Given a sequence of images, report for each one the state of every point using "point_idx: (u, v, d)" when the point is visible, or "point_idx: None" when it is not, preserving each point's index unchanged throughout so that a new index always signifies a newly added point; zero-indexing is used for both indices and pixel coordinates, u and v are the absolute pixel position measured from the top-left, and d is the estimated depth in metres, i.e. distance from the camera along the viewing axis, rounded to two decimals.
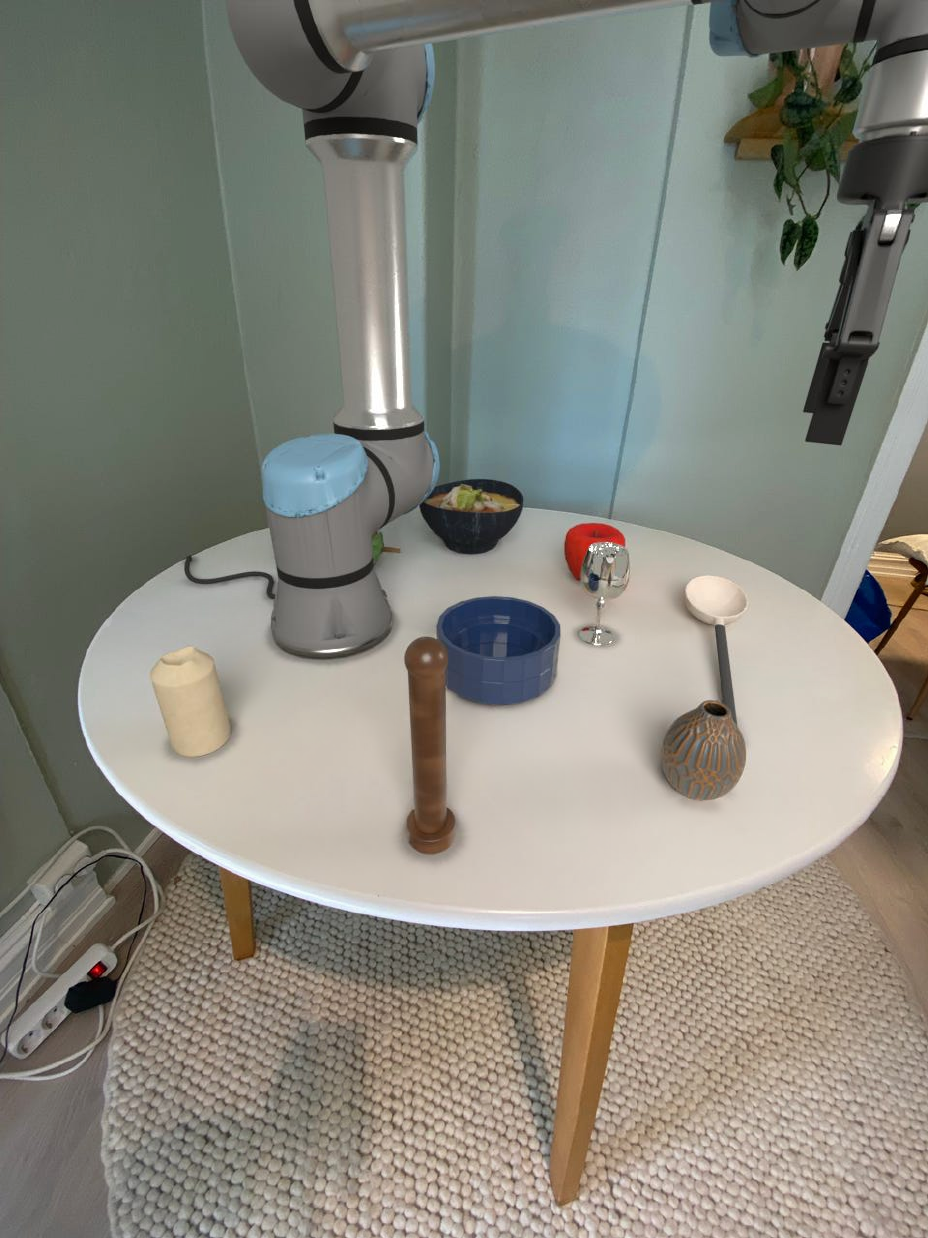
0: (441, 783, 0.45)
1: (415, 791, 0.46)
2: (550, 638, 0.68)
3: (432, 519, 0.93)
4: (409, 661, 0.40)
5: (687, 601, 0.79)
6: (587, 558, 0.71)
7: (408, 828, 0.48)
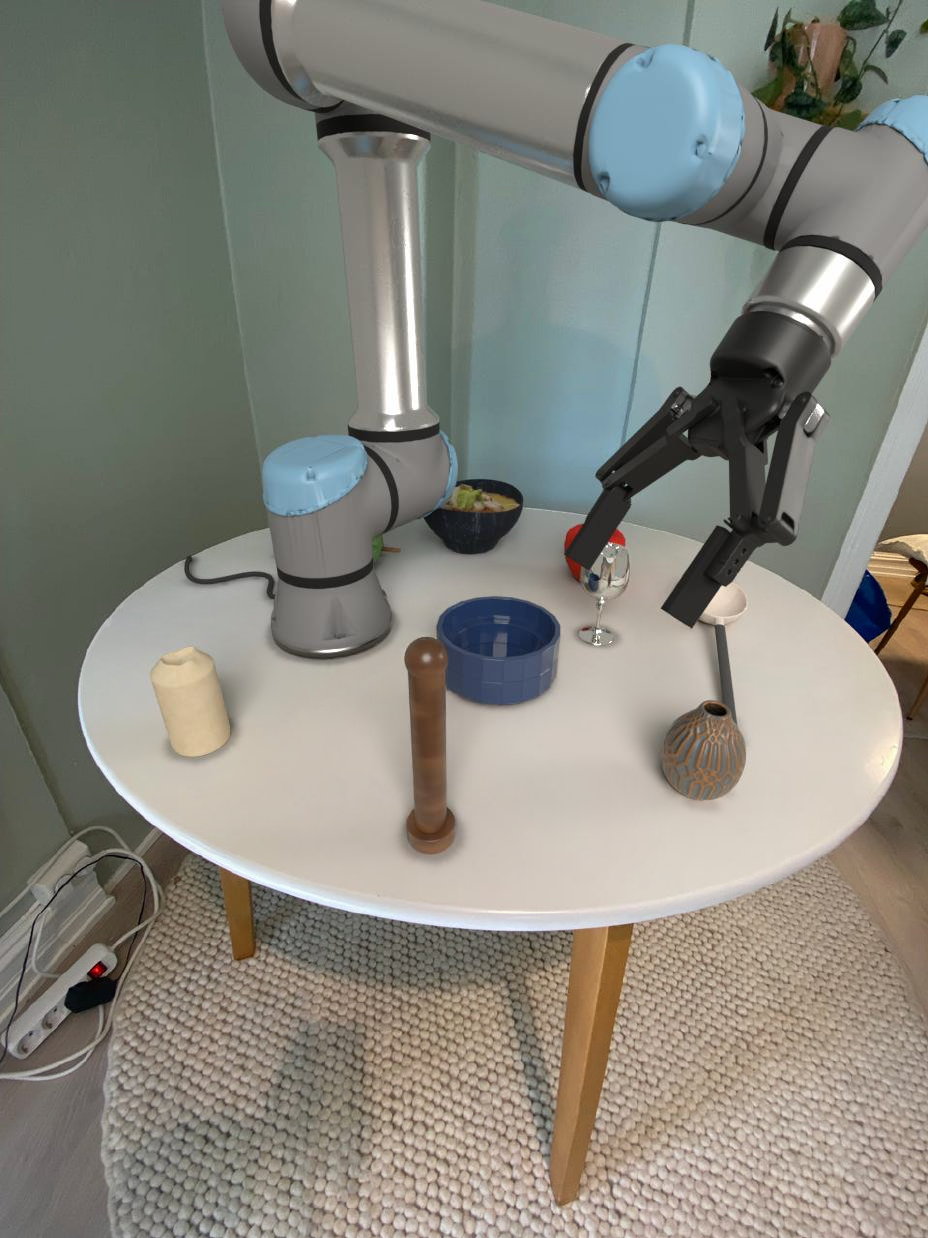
0: (441, 783, 0.45)
1: (415, 791, 0.46)
2: (550, 638, 0.68)
3: (432, 519, 0.93)
4: (409, 661, 0.40)
5: None
6: None
7: (408, 828, 0.48)
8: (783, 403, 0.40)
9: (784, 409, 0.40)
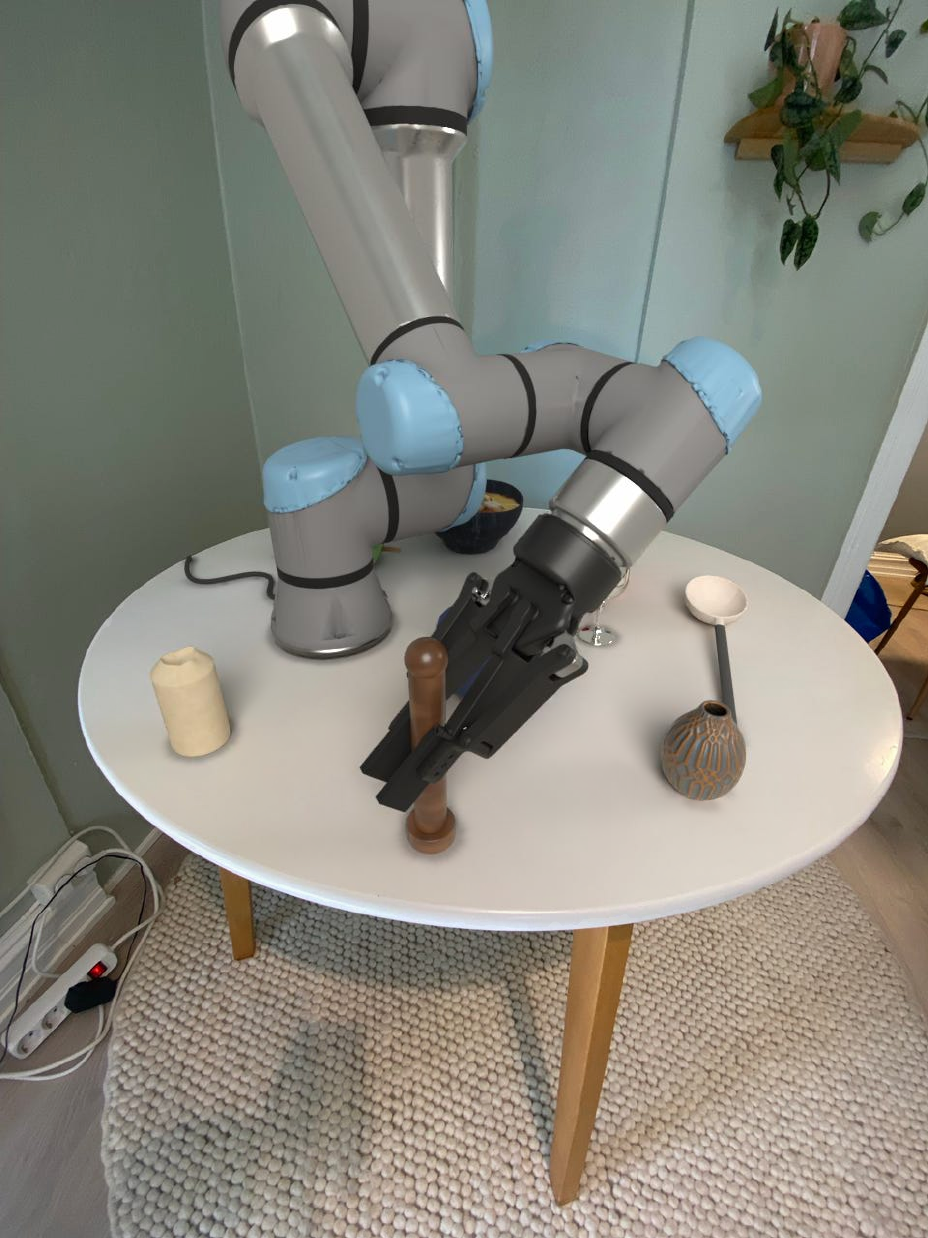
0: (441, 783, 0.45)
1: None
2: None
3: None
4: (409, 661, 0.40)
5: (687, 601, 0.79)
6: None
7: (408, 828, 0.48)
8: (564, 631, 0.40)
9: (559, 638, 0.40)
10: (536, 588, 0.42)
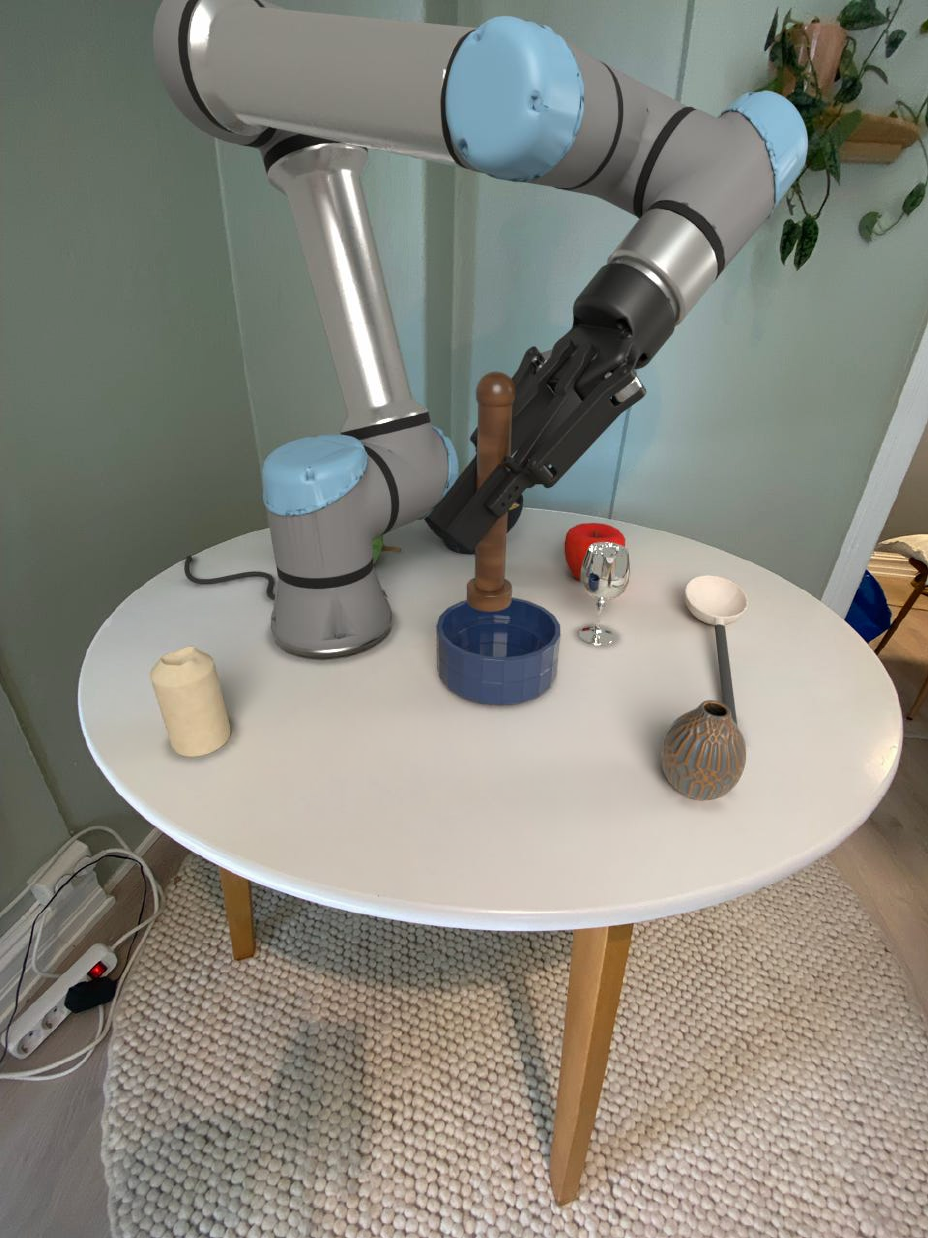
0: (502, 534, 0.49)
1: (478, 544, 0.50)
2: (550, 638, 0.68)
3: None
4: (482, 389, 0.43)
5: (687, 601, 0.79)
6: (587, 558, 0.71)
7: (468, 589, 0.52)
8: (623, 362, 0.43)
9: None
10: (595, 337, 0.46)
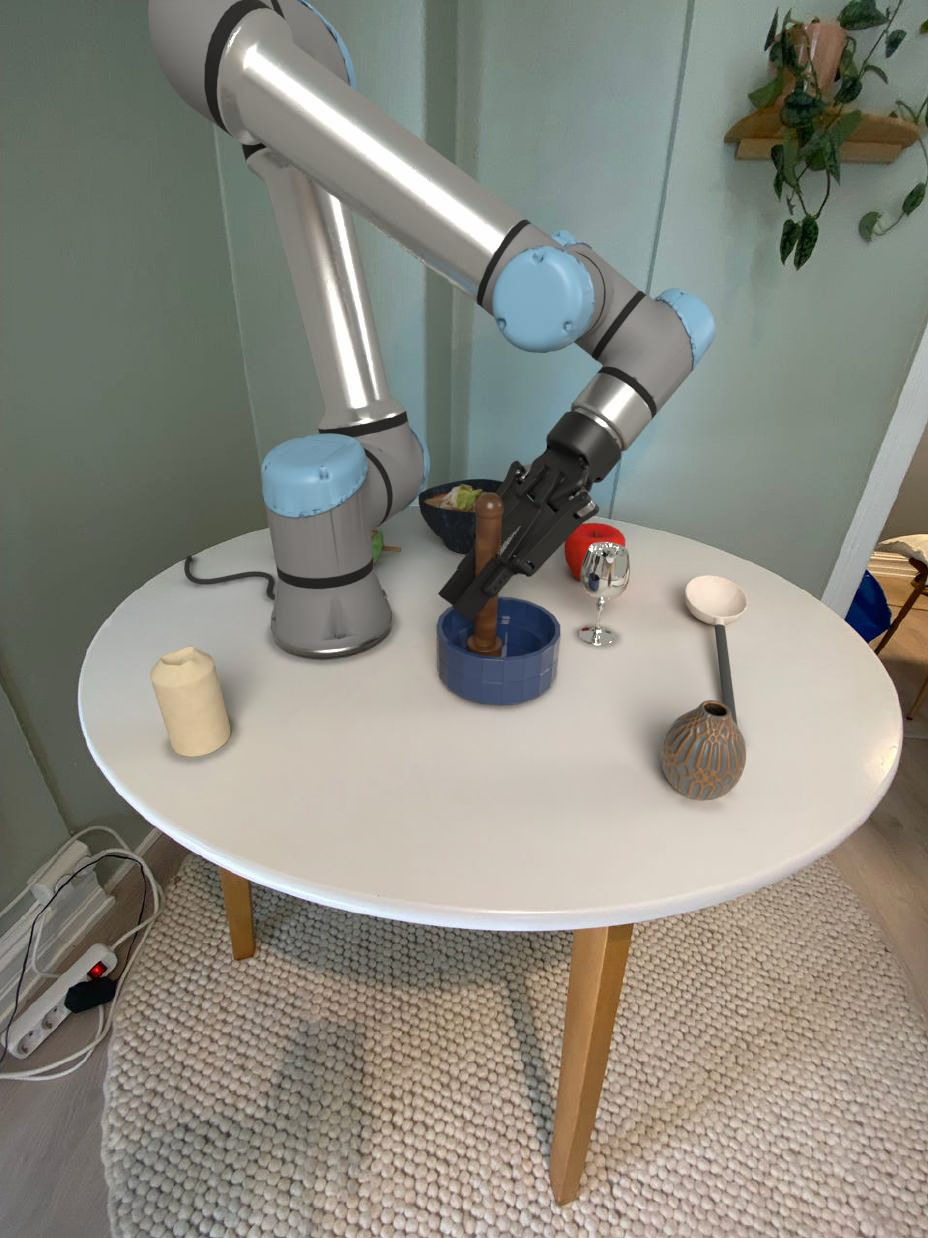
0: (495, 606, 0.65)
1: None
2: (550, 638, 0.68)
3: (432, 519, 0.93)
4: (479, 506, 0.59)
5: (687, 601, 0.79)
6: (587, 558, 0.71)
7: (469, 645, 0.68)
8: (582, 486, 0.59)
9: (579, 491, 0.59)
10: (562, 463, 0.62)
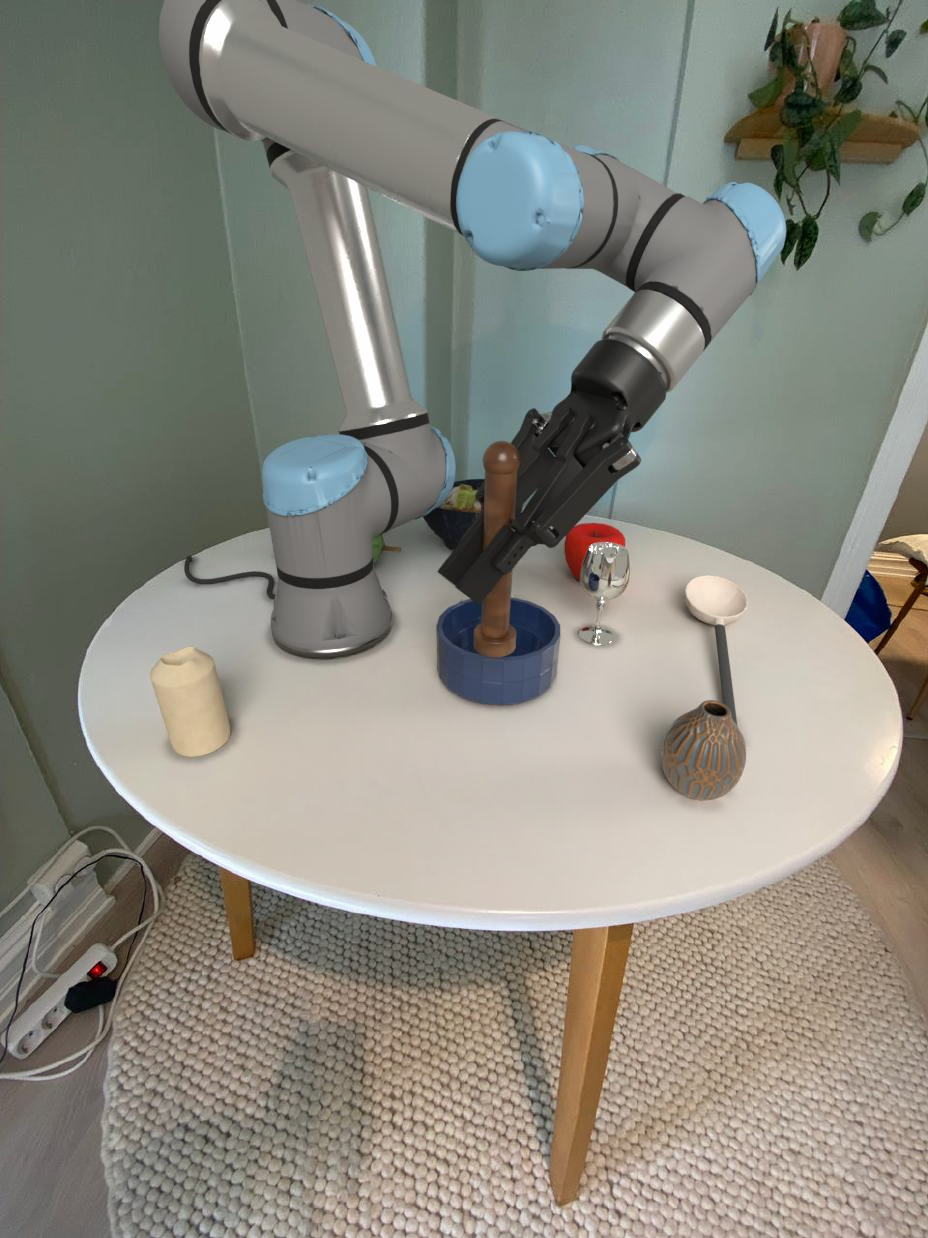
0: (508, 586, 0.52)
1: None
2: (550, 638, 0.68)
3: (432, 519, 0.93)
4: (489, 458, 0.47)
5: (687, 601, 0.79)
6: (587, 558, 0.71)
7: (476, 635, 0.55)
8: (619, 432, 0.47)
9: (616, 438, 0.47)
10: (592, 405, 0.49)
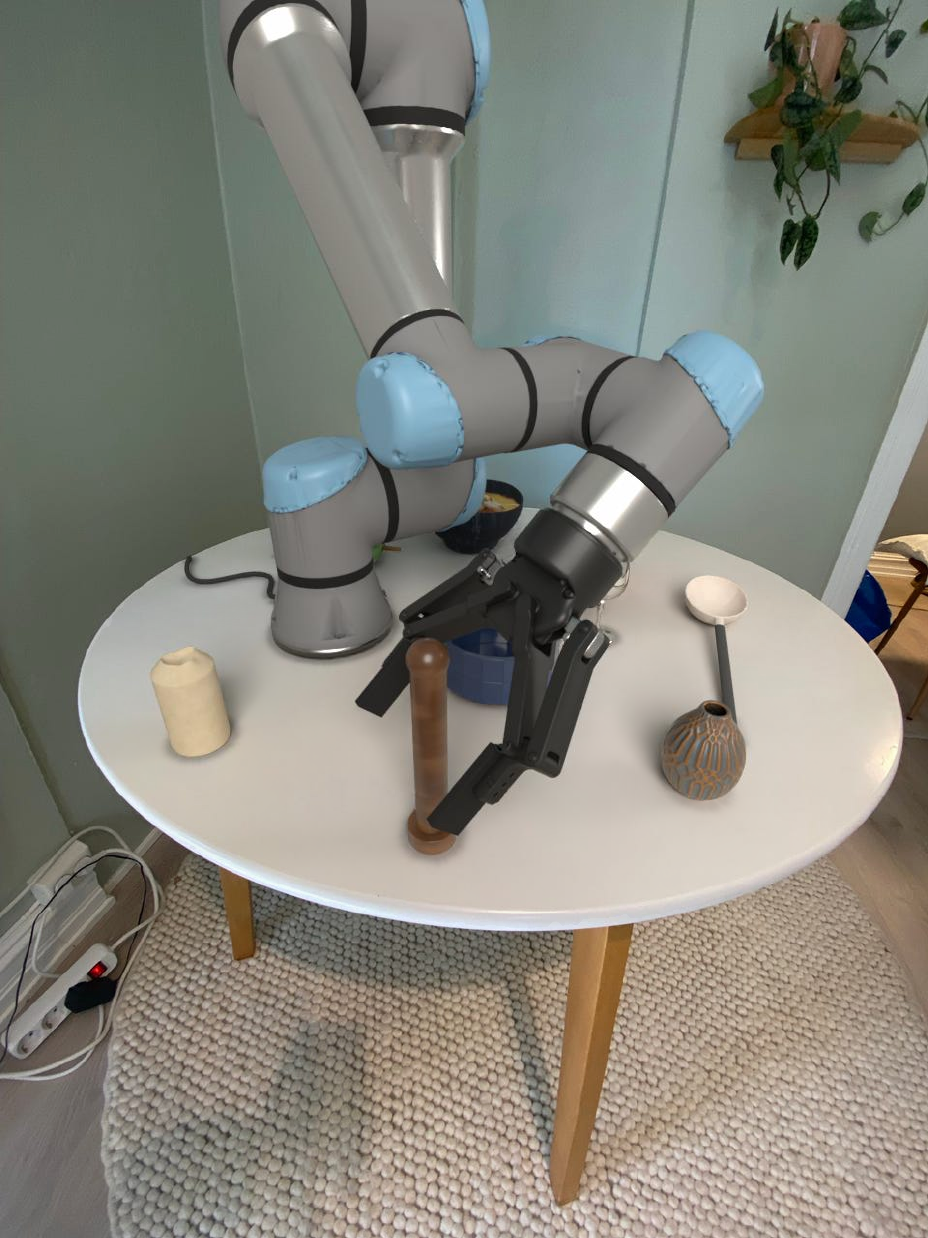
0: (442, 784, 0.45)
1: (416, 792, 0.46)
2: None
3: None
4: (411, 662, 0.40)
5: (687, 601, 0.79)
6: None
7: (409, 829, 0.48)
8: (571, 617, 0.40)
9: (570, 625, 0.39)
10: (537, 583, 0.42)
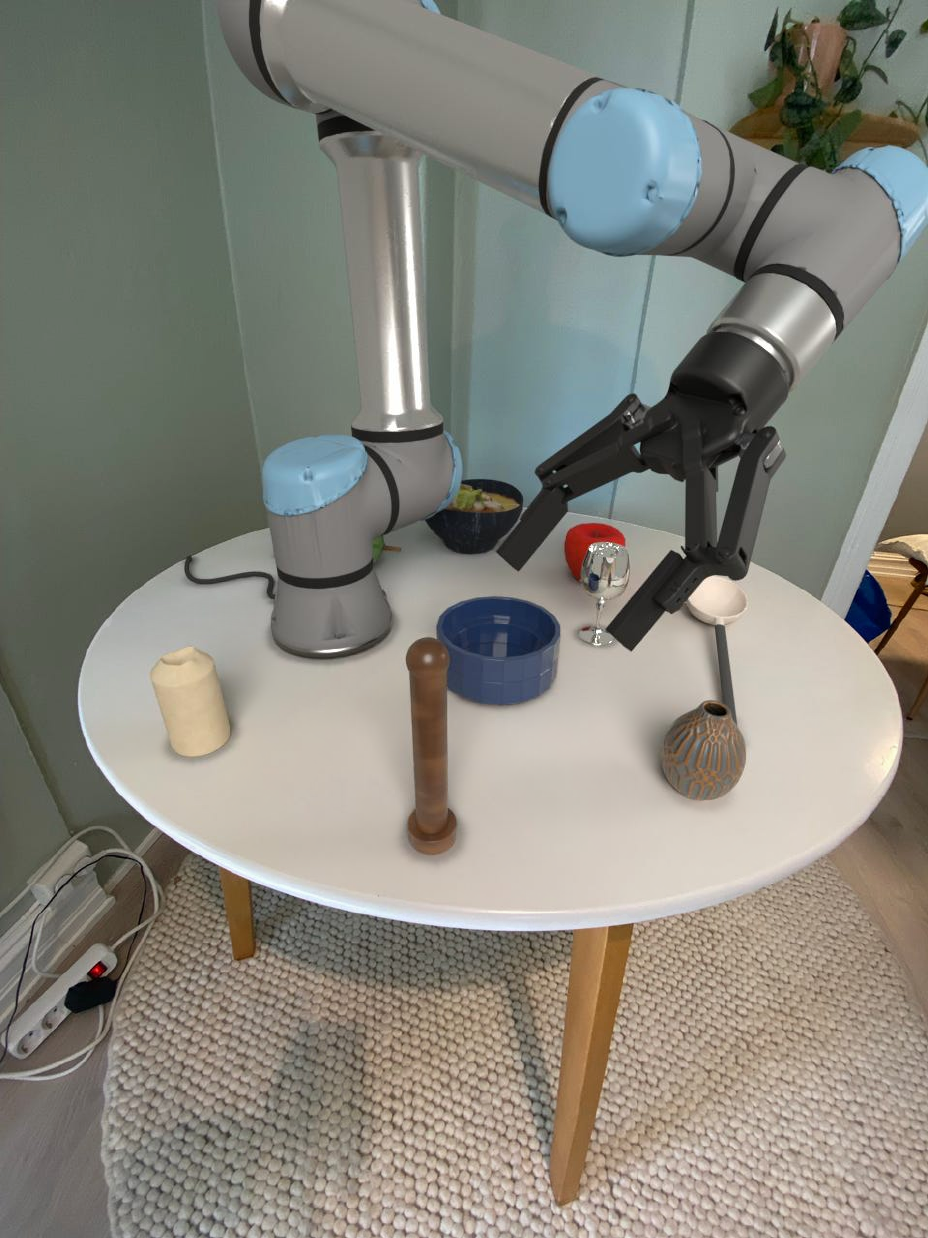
0: (442, 784, 0.45)
1: (416, 792, 0.46)
2: (550, 638, 0.68)
3: (432, 519, 0.93)
4: (411, 662, 0.40)
5: (687, 601, 0.79)
6: (587, 558, 0.71)
7: (409, 829, 0.48)
8: (743, 433, 0.40)
9: (744, 439, 0.39)
10: (699, 409, 0.42)
